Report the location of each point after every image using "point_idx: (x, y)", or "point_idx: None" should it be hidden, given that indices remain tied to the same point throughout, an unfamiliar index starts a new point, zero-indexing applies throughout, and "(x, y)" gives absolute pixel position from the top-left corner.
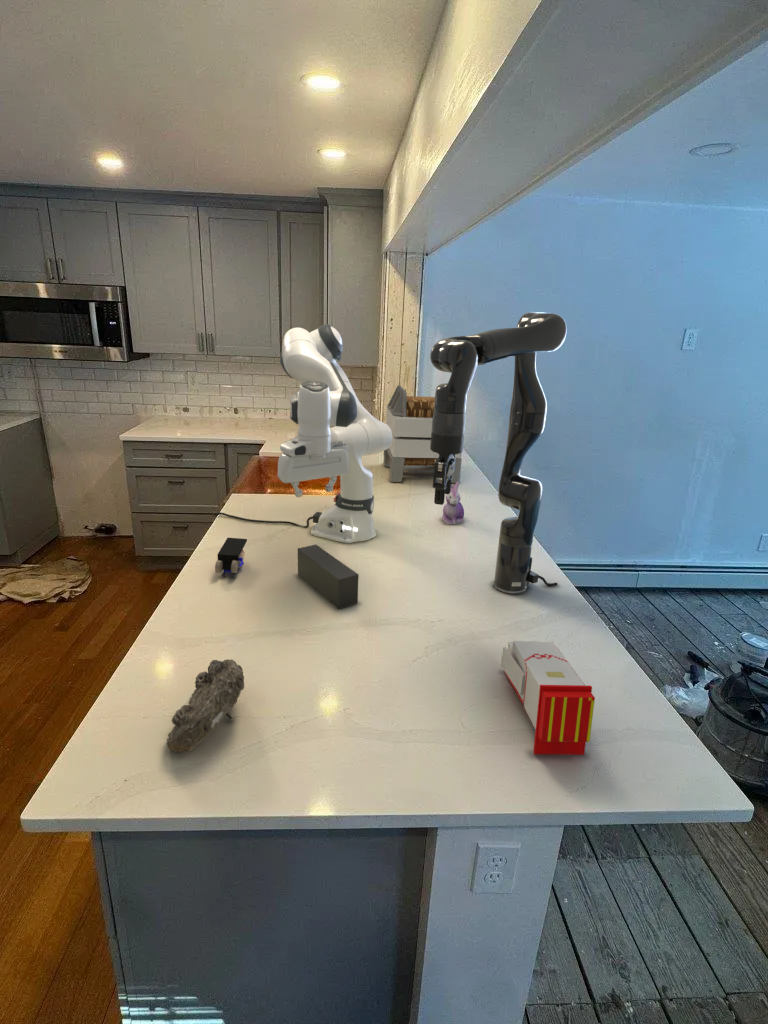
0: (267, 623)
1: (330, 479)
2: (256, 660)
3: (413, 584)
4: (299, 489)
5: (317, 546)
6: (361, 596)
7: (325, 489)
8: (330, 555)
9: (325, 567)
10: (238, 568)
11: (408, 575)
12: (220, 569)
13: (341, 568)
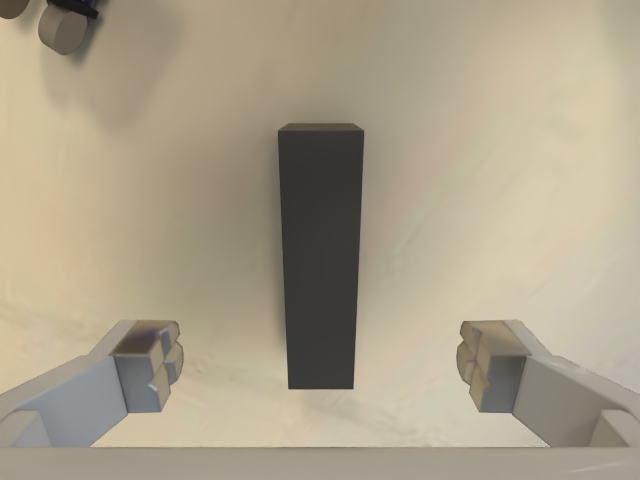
0: (127, 310)
1: (599, 402)
2: None
3: None
4: (138, 373)
5: (357, 154)
6: (374, 313)
7: (469, 321)
8: (355, 249)
9: (292, 315)
10: (91, 14)
11: (553, 283)
12: (17, 3)
13: (332, 342)
